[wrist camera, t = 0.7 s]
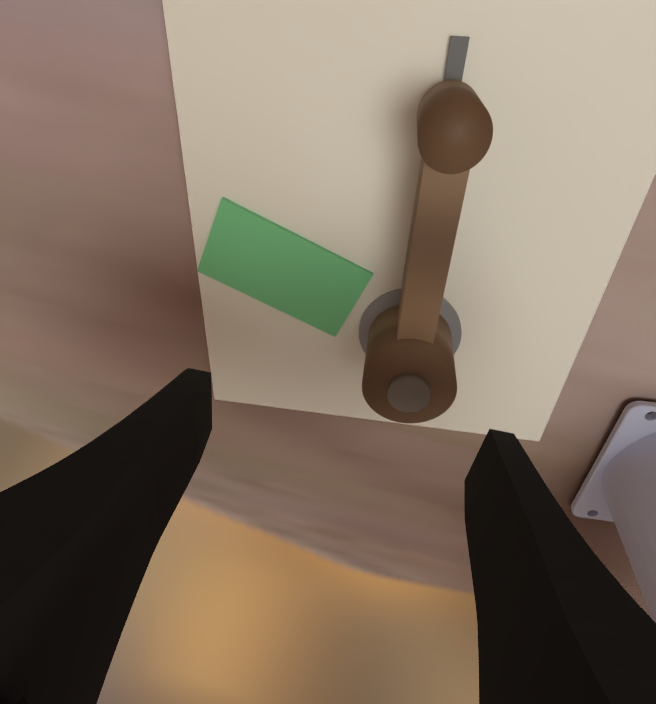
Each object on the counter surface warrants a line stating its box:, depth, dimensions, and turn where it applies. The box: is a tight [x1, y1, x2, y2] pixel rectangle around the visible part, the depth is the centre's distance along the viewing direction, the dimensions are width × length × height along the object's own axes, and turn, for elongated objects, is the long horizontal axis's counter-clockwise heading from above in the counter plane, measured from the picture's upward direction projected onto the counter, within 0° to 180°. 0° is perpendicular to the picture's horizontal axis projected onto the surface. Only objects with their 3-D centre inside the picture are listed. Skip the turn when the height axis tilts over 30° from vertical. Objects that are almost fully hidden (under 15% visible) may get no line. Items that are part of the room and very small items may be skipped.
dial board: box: [162, 0, 656, 441], centre depth 17 cm, size 15×20×2 cm
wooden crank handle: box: [362, 80, 493, 423], centre depth 15 cm, size 10×3×3 cm, turn 178°
